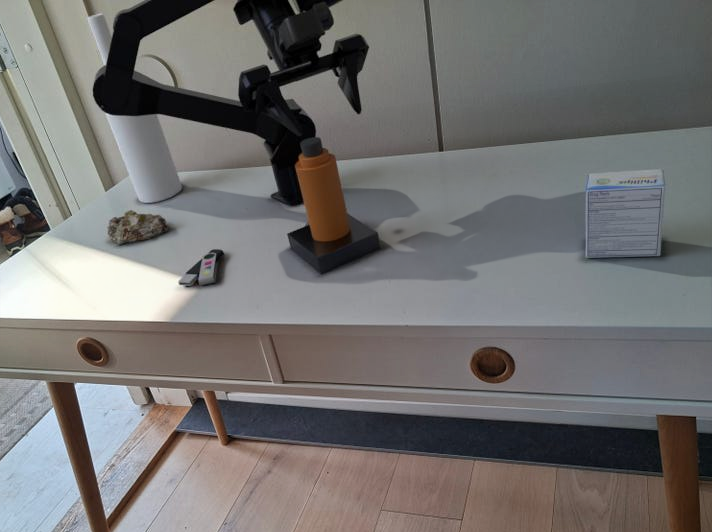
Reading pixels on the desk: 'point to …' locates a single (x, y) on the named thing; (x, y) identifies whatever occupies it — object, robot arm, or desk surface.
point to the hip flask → (334, 246)
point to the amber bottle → (322, 191)
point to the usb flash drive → (203, 269)
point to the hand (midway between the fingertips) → (330, 123)
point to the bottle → (139, 139)
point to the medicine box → (624, 213)
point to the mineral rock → (135, 227)
